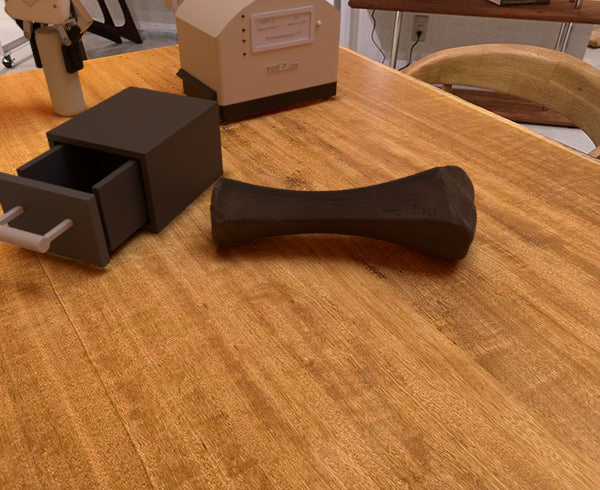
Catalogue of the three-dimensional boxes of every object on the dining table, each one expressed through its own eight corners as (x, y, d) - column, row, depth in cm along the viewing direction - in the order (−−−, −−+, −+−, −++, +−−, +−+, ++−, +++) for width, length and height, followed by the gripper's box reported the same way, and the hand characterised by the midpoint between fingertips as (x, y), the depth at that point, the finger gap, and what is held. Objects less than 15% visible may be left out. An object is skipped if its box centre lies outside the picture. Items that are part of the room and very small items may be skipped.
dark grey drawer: (71, 297, 56) (50, 226, 51) (-23, 268, 59) (-51, 199, 54) (179, 201, 70) (171, 139, 65) (99, 182, 73) (85, 122, 68)
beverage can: (47, 114, 91) (26, 32, 83) (67, 103, 94) (48, 23, 87) (74, 119, 90) (54, 36, 82) (93, 108, 93) (75, 27, 86)
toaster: (217, 129, 88) (208, 1, 77) (152, 79, 104) (137, -33, 93) (343, 99, 98) (350, -17, 87) (266, 58, 114) (264, -45, 103)
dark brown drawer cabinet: (157, 233, 66) (144, 153, 60) (66, 210, 69) (45, 132, 63) (223, 173, 77) (218, 101, 71) (141, 156, 81) (130, 85, 75)
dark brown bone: (468, 253, 67) (227, 269, 70) (466, 159, 65) (218, 178, 68) (492, 266, 57) (206, 284, 59) (490, 154, 55) (195, 177, 57)
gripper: (-47, -77, 76) (-3, 68, 88) (60, -67, 71) (91, 85, 83) (-4, -84, 81) (32, 53, 93) (99, -75, 77) (123, 68, 88)
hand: (60, 67), depth 88 cm, fingers closed on beverage can, 4 cm apart
